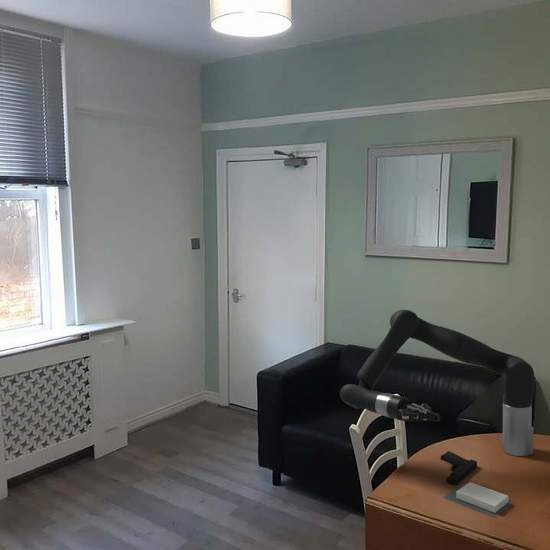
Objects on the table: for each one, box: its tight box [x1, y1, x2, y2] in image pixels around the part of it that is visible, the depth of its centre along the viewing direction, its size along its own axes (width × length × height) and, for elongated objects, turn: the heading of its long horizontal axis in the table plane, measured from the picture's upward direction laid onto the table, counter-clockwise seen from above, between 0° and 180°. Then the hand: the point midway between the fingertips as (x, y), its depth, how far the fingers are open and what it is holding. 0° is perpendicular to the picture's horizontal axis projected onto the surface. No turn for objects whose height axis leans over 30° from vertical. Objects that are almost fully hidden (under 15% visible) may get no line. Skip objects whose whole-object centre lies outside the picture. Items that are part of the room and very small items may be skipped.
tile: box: [456, 481, 509, 513], centre depth 165 cm, size 2×8×12 cm
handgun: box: [440, 450, 478, 486], centre depth 185 cm, size 3×19×12 cm
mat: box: [442, 483, 515, 518], centre depth 166 cm, size 16×12×1 cm
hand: (438, 418), depth 173 cm, fingers closed
